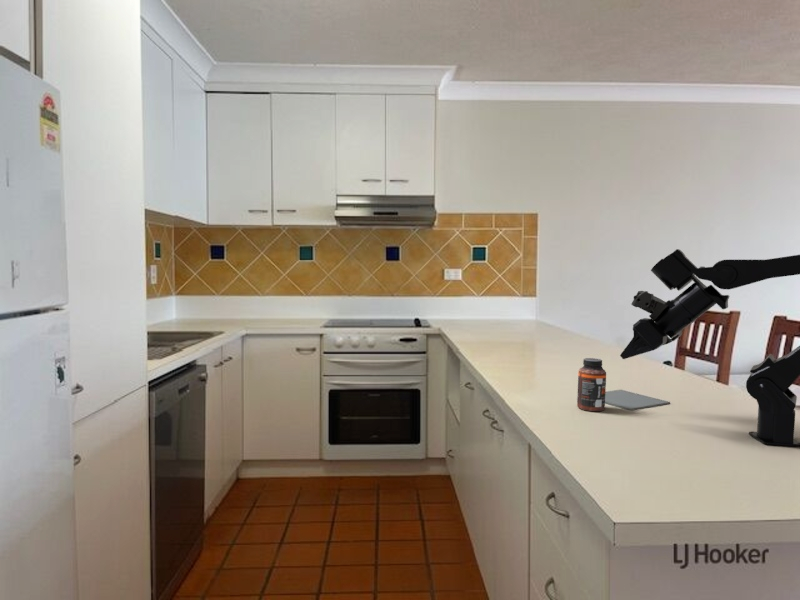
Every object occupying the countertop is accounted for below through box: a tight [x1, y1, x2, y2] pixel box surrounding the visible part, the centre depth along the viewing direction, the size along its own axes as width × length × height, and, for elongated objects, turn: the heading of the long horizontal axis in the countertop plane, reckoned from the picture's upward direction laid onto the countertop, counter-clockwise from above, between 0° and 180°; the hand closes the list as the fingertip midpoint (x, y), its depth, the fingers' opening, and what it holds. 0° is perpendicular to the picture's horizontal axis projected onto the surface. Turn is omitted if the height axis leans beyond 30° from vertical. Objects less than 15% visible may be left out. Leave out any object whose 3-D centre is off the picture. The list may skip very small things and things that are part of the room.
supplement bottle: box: [576, 357, 607, 412], centre depth 124 cm, size 6×6×11 cm
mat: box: [605, 389, 671, 411], centre depth 132 cm, size 14×14×1 cm
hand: (628, 354), depth 118 cm, fingers open, 9 cm apart
